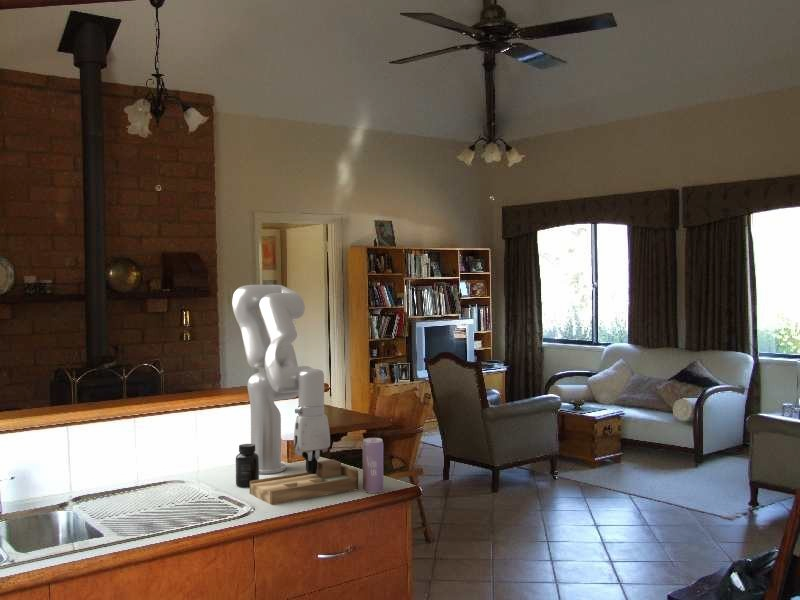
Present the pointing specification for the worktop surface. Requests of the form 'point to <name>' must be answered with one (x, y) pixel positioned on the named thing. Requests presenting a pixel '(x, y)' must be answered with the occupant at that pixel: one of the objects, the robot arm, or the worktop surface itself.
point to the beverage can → (372, 465)
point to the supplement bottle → (247, 465)
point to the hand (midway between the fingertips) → (311, 472)
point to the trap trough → (302, 486)
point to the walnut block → (328, 468)
